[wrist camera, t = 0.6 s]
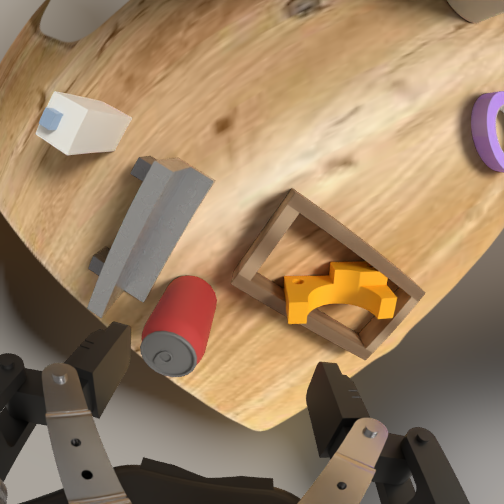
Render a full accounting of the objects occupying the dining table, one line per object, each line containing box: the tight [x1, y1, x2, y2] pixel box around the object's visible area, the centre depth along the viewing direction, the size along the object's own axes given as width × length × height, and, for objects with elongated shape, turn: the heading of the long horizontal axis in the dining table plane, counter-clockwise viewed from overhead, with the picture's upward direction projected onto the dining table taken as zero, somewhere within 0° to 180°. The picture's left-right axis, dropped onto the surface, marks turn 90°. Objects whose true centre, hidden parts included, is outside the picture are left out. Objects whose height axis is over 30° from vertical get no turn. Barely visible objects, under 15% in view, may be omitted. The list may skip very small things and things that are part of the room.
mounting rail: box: [87, 156, 215, 318], centre depth 30 cm, size 18×8×8 cm, turn 146°
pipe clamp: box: [284, 261, 397, 324], centre depth 33 cm, size 12×4×6 cm, turn 91°
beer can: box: [140, 276, 217, 377], centre depth 31 cm, size 7×7×12 cm
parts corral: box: [231, 188, 425, 360], centre depth 34 cm, size 12×21×4 cm, turn 56°
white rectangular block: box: [36, 91, 132, 155], centre depth 25 cm, size 5×5×11 cm
